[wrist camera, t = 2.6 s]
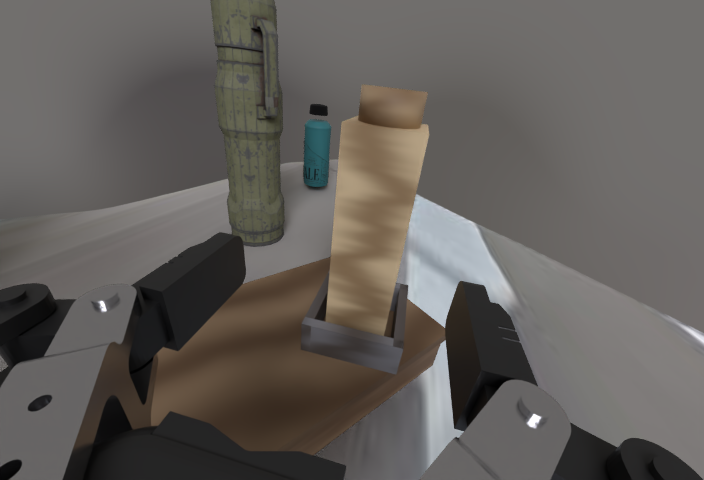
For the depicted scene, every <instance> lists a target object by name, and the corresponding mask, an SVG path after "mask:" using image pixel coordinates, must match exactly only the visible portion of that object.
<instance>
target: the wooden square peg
mask: <svg viewBox="0 0 704 480" xmlns="http://www.w3.org/2000/svg"><path fill="white" fill-rule="evenodd" d="M427 94H428V92H421V91H412V90H404V89H396V88H388V87H380V86H371V85H362V90H361V99H360V107H359V116H356V117H353V118H351V119H348V120H346V121H343V122H342V126H341V138H340V150H339V162H338V174H337V187H336V199H335V211H334V223H333V235H332V248H331V260H330V272H329V284H328V296H327V309H326V321H325V322H328V323H333V324H337V325H341V326H345V327H349V328H353V329H357V330H361V331H365V332H369V333H373V334H377V335H382V336H384V333H385V329H386V324H387V320H388V315H389V311H390V306H391V302H392V297H393V293H394V289H395V284H396V280H397V275H398V271H399V266H400V262H401V257H402V253H403V248H404V244H405V240H406V235H407V231H408V226H409V222H410V217H411V213H412V208H413V204H414V200H415V195H416V190H417V186H418V181H419V177H420V173H421V168H422V164H423V159H424V155H425V151H426V146H427V141H428V137H429V130H428V125H424V124H421V123H422V118H423V112H424V108H425V103H426V98H427Z"/></svg>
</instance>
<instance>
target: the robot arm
mask: <svg viewBox="0 0 704 480" xmlns="http://www.w3.org/2000/svg"><path fill="white" fill-rule="evenodd" d="M245 275H246V267H245V257H244V247H243V240H242V238H241V237H240V236H236V235H231V234H226V233H217V234H216V235H214V236H213V237H211V238H210V239H208V240H207V241H205V242H203V243H201V244H198V245H195V246H192V247H190V248H188V249H186V250H185V251H183V252H182V253H180V254H179V255H178V257H174V258H173V259H171V260H170V261H168V263H165V264H163V265H162V266H160V267H159V268H157V269H156V270H154V271H153V272H151V273H150V274H148V275H147V276H145V277H144V278H142V279H140V280H139V281H137V282H136V283H134V284H133V285H131V286H130V285H126V284H113V285H107V286H103V287H100V288H97V289H94V290H92V291H89V292H87V293H85V294H84V295H82V296H81V297H79V298H78V299H68V300H54V298H53V296H52V294H51V292H50V290H49V288H48V287H47V286H46V285H43V284H37V283H32V284H22V285H17V286H13V287H9V288H5V289H2V290H0V355H1V356H2V358H3V359H4V361H5V362H6V363H7V365H8V366H9V367H7V368H6V369H4V370H3V371H1V372H0V480H344V476H345V470H346V466H345V465H342V464H339V463H336V462H333V461H329V460H326V459H323V458H320V457H316V456H313V455H310V454H307V453H304V452H300V451H248V450H245V449H243V448H242V447H241V446H239V445H238V444H237V443H235V442H234V441H233V440H231V439H230V438H229V437H227V436H226V435H225V434H223V433H222V432H221V431H219V430H218V429H217V428H216V427H214V426H213V425H212V424H210V423H207V422H204V421H201V420H198V419H194V418H191V417H188V416H185V415H181V414H178V413H175V412H172V411H170V412H169V413H168V414H167V415H166V417H165V418H164V419H163V420H162V422H161V423H160V424H159V425H158V426H151V408H152V402H153V395H154V388H155V381H156V374H157V367H158V355H157V353H158V352H159V351H160V350H161V349H162V348H163V347H164V348H168V349H172V350H175V351H179V350H180V349H181V348H182V347H183V346H184V345H185V344H186V343H187V342H188V341H189V340H190V339H191V338H192V337H193V336H194V335H195V334H196V332H197V331H198V330H199V329H200V328H201V327H202V326H203V325H204V324H205V323H206V322H207V321H208V320H209V319H210V318H211V317H212V316H213V315H214V314H215V313H216V311H217V310H218V309H219V308H220V307H221V306H222V305H223V304H224V303H225V302H226V301H227V300H228V299H229V298H230V297H231V296H232V295H233V294H234V293H235V292H236V291H237V289H238V288H239V287H240V286H241V285H242V283H243V281H244V279H245ZM445 337H446V347H447V358H448V368H449V379H450V389H451V400H452V410H453V421H454V429H458V430H461V431H464V432H463V434H462V435H461V436H460V437H459V438H457V437H455V438H454V439H453V440H452V441H451V442H450V443H449V444H448V445H447V446H446V448H445V449H444V450H443V451H442V452H441V454H440V455H439V456H438V457H437V458H436V460H435V461H434V462H433V463H432V465H431V466H430V467H429V468H428V469H427V471H426V472H425V473H424V474H423V475H422V477H421V478H420V479H419V480H703V479H702V478H701V477H700V476H699V475H698V474H697V473H696V472H695V471H694V470H693V469H692V468H691V467H689V466H688V465H687V464H686V463H685V462H683V461H682V460H681V459H679V458H678V457H677V456H675V455H674V454H672V453H671V452H669V451H668V450H666V449H664V448H662V447H661V446H659V445H657V444H654V443H652V442H649V441H647V440H643V439H639V438H630V439H627V440H625V441H624V442H623V443H622V444H621V445H620V446H619V447H618V448H617V447H615V446H613V445H612V444H610V443H608V442H606V441H604V440H602V439H600V438H598V437H596V436H594V435H592V434H590V433H588V432H586V431H584V430H582V429H581V428H579V427H577V426H575V425H573V424H572V423H570V421H569V419H568V416H567V414H566V413H565V411H564V410H563V408H562V407H561V406H560V404H559V403H558V402H557V401H556V400H555V399H554V398H553V397H552V396H551V395H549V394H548V393H547V392H546V391H544V390H543V389H541V388H539V387H538V385H537V383H536V380H535V378H534V375H533V373H532V370H531V368H530V365H529V363H528V360H527V358H526V355H525V353H524V350H523V348H522V345H521V343H519V341H520V340H519V337H518V335H517V332H515V327H514V325H513V322H512V320H511V317H510V316H509V315H508V314H507V312H506V311H505V310H504V309H503V308H502V307H501V306H500V305H499V304H496V303H491V302H490V300H489V297H488V294H487V291H486V288H485V286H483V285H479V284H474V283H469V282H464V281H460V282H459V284H458V286H457V288H456V291H455V294H454V297H453V300H452V303H451V306H450V309H449V312H448V315H447V319H446V326H445Z"/></svg>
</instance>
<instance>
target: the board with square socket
mask: <svg viewBox="0 0 704 480" xmlns="http://www.w3.org/2000/svg"><path fill="white" fill-rule="evenodd" d="M330 260H331V257H329V258H326V259H323V260H319V261H316V262H313V263H310V264H306V265H303V266H300V267H297V268H293V269H290V270H287V271H284V272H280V273H277V274H274V275H271V276H267V277H264V278H261V279H258V280H254V281H251V282H248V283H245V284H242V285H241V286H240V287H239V288H238V289H237V291H236V292H235V293H234V294H233V295H232V296H231V297H230V298H229V299H228V300H227V301H226V302H225V303H224V304H223V305H222V306H221V307H220V308H219V309H218V310H217V311H216V313H215V314H214V315H213V316H212V317H211V318H210V319H209V320H208V321H207V322H206V323H205V324H204V325H203V326H202V327H201V328H200V329H199V330H198V331H197V332H196V334H195V335H194V336H193V337H192V338H191V339H190V340H189V341H188V342H187V343H186V344H185V345H184V346H183V347H182V348H181V349H180V350H179V351H175V350H172V349H168V348H164V347H163V348H162V349H161V350H160V351H159V352H158V353H157V355H158V367H157V374H156V381H155V388H154V395H153V402H152V408H151V426H158V425H159V424H160V423H161V422H162V420H163V419H164V418H165V417H166V415H167V414H168V413H169V412H170V411H172V412H175V413H178V414H181V415H185V416H188V417H191V418H194V419H198V420H201V421H204V422H207V423H210V424H212V425H213V426H214V427H216V428H217V429H218V430H219V431H221V432H222V433H223V434H225V435H226V436H227V437H229V438H230V439H231V440H233V441H234V442H235V443H237V444H238V445H239V446H241V447H242V448H243V449H245V450H248V451H300V452H304V453H307V454H310V455H314V454H316V453H317V452H318V451H320V450H321V449H322V448H324V447H325V446H326V445H328V444H329V443H330V442H332V441H333V440H334V439H336V438H337V437H338V436H339V435H341V434H342V433H343V432H345V431H346V430H347V429H349V428H350V427H351V426H353V425H354V424H355V423H357V422H358V421H359V420H361V419H362V418H363V417H365V416H366V415H367V414H369V413H370V412H371V411H373V410H374V409H375V408H376V407H378V406H379V405H380V404H382V403H383V402H384V401H386V400H387V399H388V398H390V397H391V396H392V395H394V394H395V393H396V392H398V391H399V390H400V389H402V388H403V387H404V386H406V385H407V384H408V383H410V382H411V381H412V380H413V379H415V378H416V377H417V376H419V375H420V374H421V373H423V372H424V371H425V370H427V369H428V368H429V367H431V366H432V365H433V363H434V360H435V357H436V355H437V352H438V349H439V346H440V344H441V343H442V342H443V341H445V340H446V337H445V328H444V327H443V326H441V325H440V324H439V323H438V322H436V321H435V320H434V319H433V318H431V317H430V316H429V315H427V314H426V313H425V312H424V311H422V310H421V309H420V308H419V307H417V306H416V305H415V304H413V303H412V302H411V301H410V300H408V299H407V294H408V285H404V284H399V283H396V284H395V289H394V293H393V297H392V302H391V306H390V311H389V315H388V320H387V324H386V329H385V333H384V336H382V335H377V334H373V333H369V332H365V331H361V330H357V329H353V328H349V327H345V326H341V325H337V324H333V323H328V322H325V321H326V309H327V296H328V284H329V272H330Z"/></svg>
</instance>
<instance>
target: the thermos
mask: <svg viewBox="0 0 704 480" xmlns="http://www.w3.org/2000/svg"><path fill="white" fill-rule="evenodd" d="M211 10H212V18H213V27H214V37H215V45H216V46H217V50H218V60H217V66H218V71H217V76H216V81H215V94H216V103H217V112H218V121H219V127H220V129H221V131H222V132H223V134H224V143H225V151H226V161H227V170H228V180H229V189H230V192H229V195H228V199H227V205H228V214H229V223H230V225H231V227H232V235H236V236H240V237H241V238H242V240H243V245H246V246H254V247H255V246H266V245H270V244H273V243H275V242H278V241H279V240H280V239H281V238H282V237H283V223H284V198H283V196H282V193H281V190H280V136H281V133H282V130H283V117H282V115H283V114H282V113H283V110H282V90H281V87H280V83H279V80H278V35H277V21H276V6H275V2H274V0H211Z"/></svg>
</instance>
